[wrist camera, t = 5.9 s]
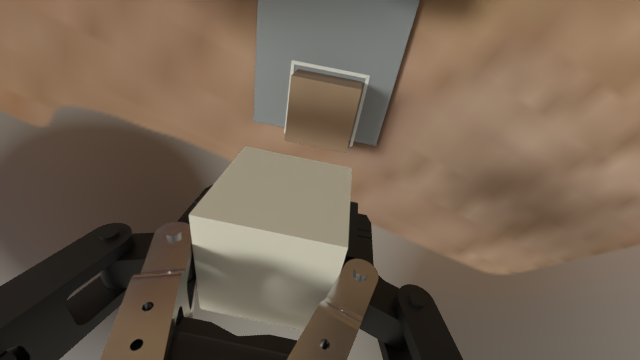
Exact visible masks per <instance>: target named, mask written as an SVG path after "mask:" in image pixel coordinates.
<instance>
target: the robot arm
mask: <svg viewBox="0 0 640 360" xmlns="http://www.w3.org/2000/svg"><path fill="white" fill-rule="evenodd" d="M213 185H214V184H213ZM213 185H211V186H209V187H208V188H206V189H204V191H203V192H202V193H201V194H200V196H199V197H198V198H197V199H196V200H195V202H194V203H193V204H192V205H191V206H190V207H189V208H188V209H187V211H186V212H185V213H184V214H183V215H182V217H181V218H180V219H179V220H178V221H177V222H172V223H168V224H165V225H163V226H161V227H160V228H159V229H158V230H157V231H156V232H155V233H140V234H132V230H131V228H130V227H129V226H128V225H126V224H123V223H112V224H106V225H103V226H101V227H98V228H97V229H95V230H93V231H92V232H90V233H88V234H87V235H85V236H83V237H82V238H80V239H78V240H77V241H75V242H73V243H72V244H70V245H68V246H67V247H65V248H63V249H62V250H60V251H58V252H57V253H55V254H53V255H52V256H50V257H48V258H47V259H45V260H43V261H42V262H40V263H38V264H37V265H35V266H33V267H32V268H30V269H28V270H27V271H25V272H23V273H22V274H20V275H18V276H17V277H15V278H13V279H12V280H10V281H9V282H7V283H5V284H3V285H2V286H0V360H59V359H60V358H61V357H62V356H64V355H65V354H66V353H67V352H68V351H69V350H70V349H71V348H73V347H74V346H75V345H76V344H77V343H78V342H79V341H80V340H82V339H83V338H84V337H85V336H86V335H87V334H88V333H89V332H91V331H92V330H93V329H94V328H95V327H96V326H97V325H98V324H100V323H101V322H102V321H103V320H104V319H105V318H106V317H107V316H108V315H110V314H111V313H112V312H113V311H114V310H115V309H116V308H118V307H119V306H120V305H121V306H120V309H119V312H118V314H117V317H116V320H115V323H114V325H113V328H112V330H111V333H110V336H109V339H108V341H107V344H106V346H105V349H104V351H103V354H102V357H101V359H100V360H347V358H348V355H349V353H350V350H351V348H352V345H353V343H354V340H355V338H356V335H357V333H358V330H359V328H360V329H361V330H363V331H365V332H367V333H368V334H370V335H372V336H374V337H375V338H377V339H378V342H379V346H380V349H381V353H382V357H383V360H463V359H462V356H461V355H460V352H459V350H458V348H457V346H456V344H455V342H454V340H453V338H452V336H451V334H450V332H449V330H448V328H447V326H446V324H445V322H444V320H443V318H442V316H441V314H440V312H439V310H438V308H437V306H436V304H435V302H434V300H433V298H432V297H431V296H430V294H428V292H426V291H425V290H424V289H422V288H420V287H418V286H416V285H410V284H409V285H404V286H402V287H401V288H400V289H399V288H397V287H395V286H393V285H391V284H389V283H388V282H386V281H384V280H383V279H382V278H381V277H380V276H379V275H378V272H377V270H376V268H375V267H374V265H373V250H372V233H371V222H370V221H369V219H368V217H367V215H363V214H358V203H355V202H350V218H349V240H348V250H347V253H346V256H345V260H344V263H343V266H342V269H341V272H340V275H339V276H338V277H337V279H336V281H335V283H334V284H333V286H332V288H331V290H330V291H329V293H328V295H327V297H326V298H325V300H322V301H321V302H320V304H319V305H318V307H317V309H316V310H315V312H314V314H313V315H312V317H311V319H310V321H309V322H308V324H307V326H306V327H305V329H304V331H303V333H302V335H301V336H300V338H299V339H298V341H297V340H292V339H287V338H283V337H277V336H273V335H254V336H236V335H234V334H232V333H230V332H228V331H226V330H225V329H223V328H221V327H219V326H217V325H215V324H214V323H212V322H207V321H203V320H198V319H193V310H194V303H195V296H196V289H197V279H196V271H195V263H194V255H193V247H192V238H191V230H190V222H189V214H190V212H191V211H192V210H193V209H194V208H195V206H196V205H197V204H198V203H199V202H200V200H201V199H202V198H203V197H204V195H205V194H206V193H207V192H208V191H209V189H210V188H211V187H212V186H213ZM98 273H99V274H100V276H99V277H98V278H97V279H95V280H94V281H93V282H91V283H90V284H88V285H87V286H86V287H84V288H83V289H82V290H80V291H79V292H78V293H76V294H75V295H74V296H72V297H71V298H70V299H68V297H69V296H70V295H71V294H72V293H73V292H74V291H75V290H76V289H77V288H79V287H80V286H82V285H83V284H84V283H86V282H87V281H89V280H90V279H91V278H93V277H94V276H95V275H97V274H98ZM67 299H68V300H67Z"/></svg>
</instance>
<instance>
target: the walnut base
mask: <svg viewBox="0 0 640 360" xmlns="http://www.w3.org/2000/svg"><path fill="white" fill-rule="evenodd" d="M361 90H362V84H361V81H356V80H351V79H346V78H341V77H336V76H331V75H326V74H321V73H316V72H311V71H306V70H301V69H297V70H296V71H295V72H294V73H293V74H292V75H291V82H290V92H289V102H288V111H287V121H286V131H285V141H290V142H295V143H299V144H304V145H309V146H314V147H319V148H324V149H329V150H334V151H339V152H344V153H346V152H347V148H348V144H349V140H350V136H351V132H352V128H353V123H354V119H355V115H356V111H357V107H358V103H359V99H360V95H361Z"/></svg>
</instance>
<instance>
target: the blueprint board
mask: <svg viewBox="0 0 640 360" xmlns="http://www.w3.org/2000/svg"><path fill="white" fill-rule="evenodd" d="M419 1H420V0H258V9H257V38H256V66H255V95H254V121H255V122H260V123H265V124H270V125H274V126H279V127H284V128H285V131H286V121H287V111H288V102H289V92H290V82H291V75H292V74H293V73H294V72H295V71H296V70H297V69H301V70H306V71H311V72H316V73H321V74H326V75H331V76H336V77H341V78H346V79H351V80H356V81H361V84H362V90H361V95H360V99H359V103H358V107H357V111H356V115H355V119H354V123H353V128H352V132H351V136H350V140H349V141H351V142H350V147H352V146H353V142H359V143H364V144H368V145H373V146H376V144H377V140H378V137H379V134H380V130H381V127H382V124H383V120H384V117H385V114H386V111H387V107H388V104H389V101H390V97H391V94H392V91H393V87H394V84H395V81H396V77H397V74H398V71H399V67H400V64H401V61H402V58H403V54H404V51H405V48H406V44H407V41H408V38H409V34H410V31H411V28H412V24H413V21H414V18H415V15H416V11H417V8H418V5H419ZM285 131H284V133H285Z"/></svg>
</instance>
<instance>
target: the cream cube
mask: <svg viewBox="0 0 640 360" xmlns="http://www.w3.org/2000/svg"><path fill="white" fill-rule="evenodd" d="M351 174H352V168H349V167H344V166H340V165H335V164H330V163H325V162H320V161H315V160H310V159H305V158H300V157H295V156H290V155H285V154H280V153H275V152H271V151H266V150H261V149H256V148H251V147H246V146H245V147H244V148H243V149H242V151H241V152H240V153H239V154H238V155H237V157H236V158H235V159H234V160H233V162H232V163H231V164H230V165H229V166H228V168H227V169H226V170H225V171H224V173H223V174H222V175H221V176H220V177H219V179H218V180H217V181H216V182H215V183H214V185H213V186H212V187H211V188H210V189H209V191H208V192H207V193H206V194H205V195H204V197H203V198H202V199H201V200H200V202H199V203H198V204H197V205H196V206H195V208H194V209H193V210H192V211H191V212H190V214H189V222H190V230H191V238H192V247H193V255H194V263H195V271H196V279H197V287H198V295H199V303H200V309H204V310H208V311H213V312H217V313H222V314H227V315H232V316H236V317H241V318H246V319H250V320H255V321H260V322H265V323H270V324H274V325H279V326H283V327H288V328H293V329H298V330H302V331H304V329H305V327H306V326H307V324H308V322H309V321H310V319H311V317H312V315H313V314H314V312H315V310H316V309H317V307H318V305H319V304H320V302H321V301H322V300H325V298H326V297H327V295H328V293H329V291H330V290H331V288H332V286H333V284H334V283H335V281H336V279H337V277H338V276H339V275H340V272H341V269H342V266H343V263H344V260H345V256H346V253H347V250H348V240H349V218H350V196H351Z"/></svg>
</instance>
